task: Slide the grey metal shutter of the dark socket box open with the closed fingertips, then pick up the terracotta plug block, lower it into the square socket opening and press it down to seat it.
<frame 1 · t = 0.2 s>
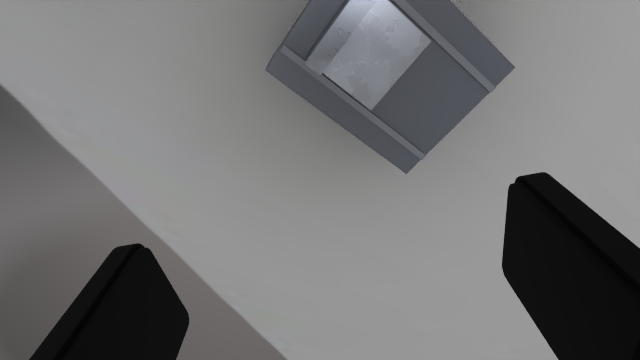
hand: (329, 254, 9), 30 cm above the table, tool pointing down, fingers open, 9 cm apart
socket box: (381, 57, 35), on the table
shutter: (368, 51, 28), point 7 cm above the table, slide at 0.0 cm
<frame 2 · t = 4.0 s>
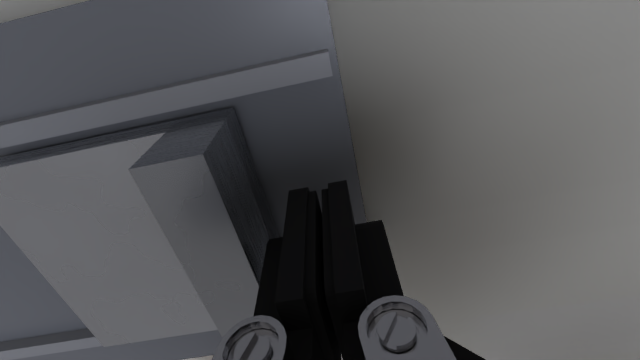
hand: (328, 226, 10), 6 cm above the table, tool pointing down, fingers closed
socket box: (164, 173, 16), on the table
shutter: (145, 268, 10), point 7 cm above the table, slide at 0.8 cm, touching gripper
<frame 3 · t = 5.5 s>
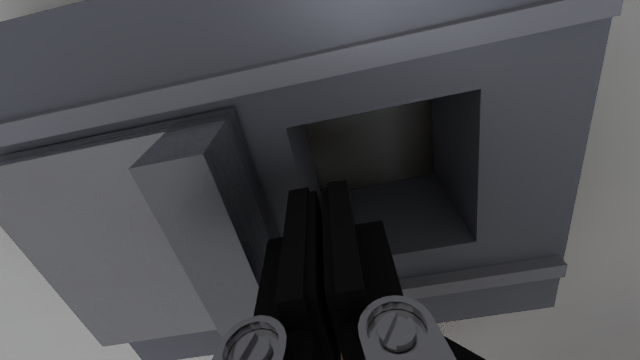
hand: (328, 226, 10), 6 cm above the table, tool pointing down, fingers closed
socket box: (305, 145, 16), on the table
shutter: (144, 267, 10), point 7 cm above the table, slide at 7.8 cm, touching gripper
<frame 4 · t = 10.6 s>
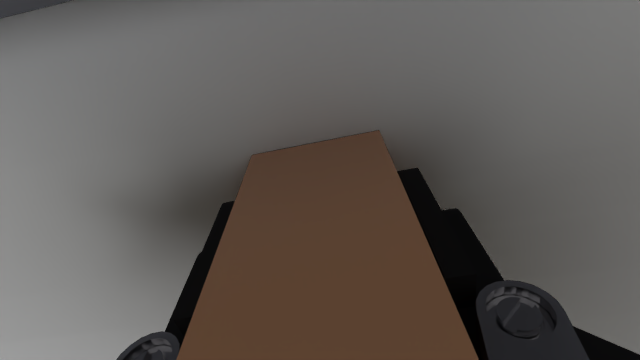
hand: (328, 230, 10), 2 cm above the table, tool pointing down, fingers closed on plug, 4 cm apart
plug: (326, 196, 11), on the table, touching gripper
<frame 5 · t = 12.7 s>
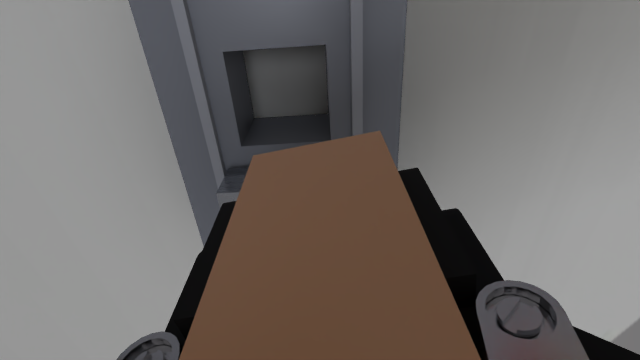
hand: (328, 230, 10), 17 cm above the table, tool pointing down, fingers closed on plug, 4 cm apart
socket box: (291, 118, 26), on the table
shutter: (292, 227, 22), point 7 cm above the table, slide at 7.9 cm
plug: (327, 196, 11), point 15 cm above the table, touching gripper
when the fingers open (6 cm above the table, at t = 15.2 s): plug drops 4 cm, resting in socket box.
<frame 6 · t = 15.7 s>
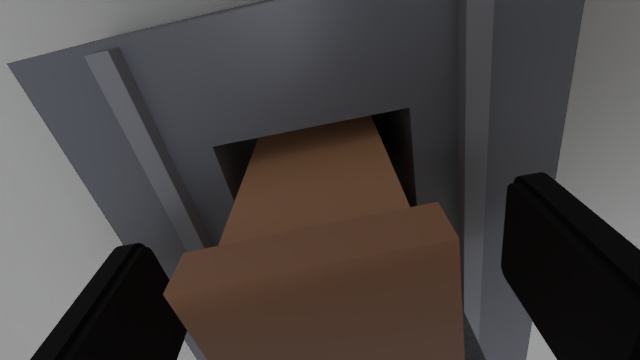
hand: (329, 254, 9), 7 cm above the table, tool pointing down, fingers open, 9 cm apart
socket box: (336, 199, 17), on the table
plug: (324, 144, 15), resting in socket box
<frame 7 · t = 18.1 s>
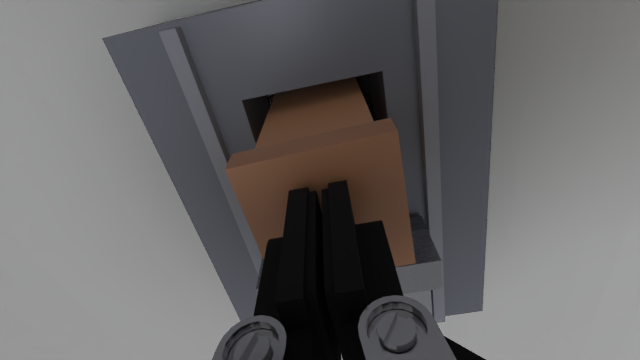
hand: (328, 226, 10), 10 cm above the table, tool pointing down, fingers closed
socket box: (332, 159, 20), on the table
shutter: (356, 307, 17), point 7 cm above the table, slide at 7.9 cm
plug: (322, 112, 19), resting in socket box
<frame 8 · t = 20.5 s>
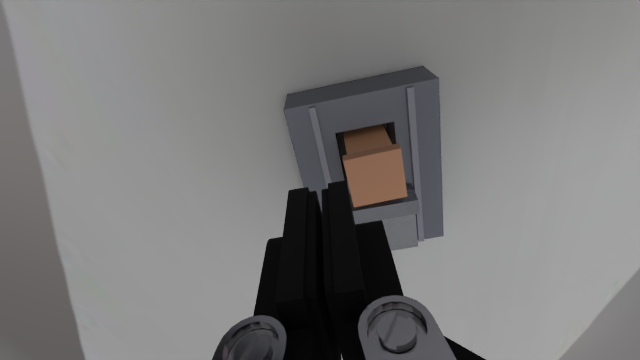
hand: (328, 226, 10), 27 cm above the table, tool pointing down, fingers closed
socket box: (365, 158, 39), on the table
shutter: (380, 228, 36), point 7 cm above the table, slide at 7.9 cm
plug: (362, 134, 38), resting in socket box
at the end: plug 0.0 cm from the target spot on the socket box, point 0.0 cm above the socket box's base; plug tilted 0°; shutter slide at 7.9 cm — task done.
